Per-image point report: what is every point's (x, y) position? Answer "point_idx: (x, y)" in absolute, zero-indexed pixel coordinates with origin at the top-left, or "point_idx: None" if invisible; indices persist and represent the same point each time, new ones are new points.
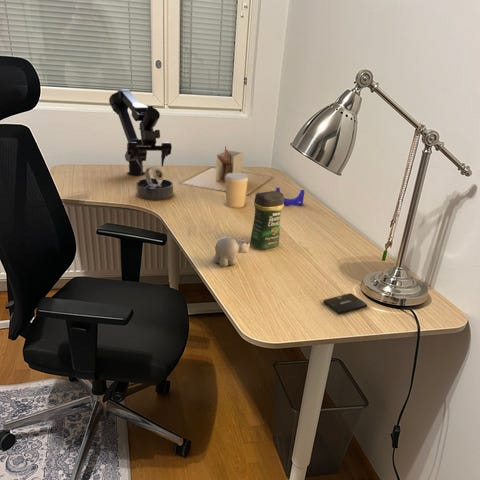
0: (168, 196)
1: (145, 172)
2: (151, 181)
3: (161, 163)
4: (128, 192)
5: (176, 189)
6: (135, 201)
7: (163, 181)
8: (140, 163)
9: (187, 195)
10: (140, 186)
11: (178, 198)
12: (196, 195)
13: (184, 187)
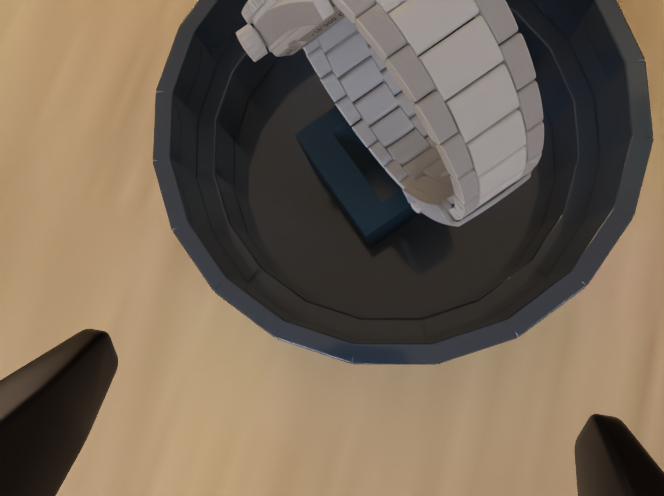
0: None
1: (533, 145)
2: (412, 185)
3: (74, 433)
4: (660, 316)
5: (117, 300)
6: (637, 7)
7: (226, 267)
8: (633, 455)
9: (91, 93)
10: (617, 6)
11: None
12: (16, 78)
13: (14, 348)
